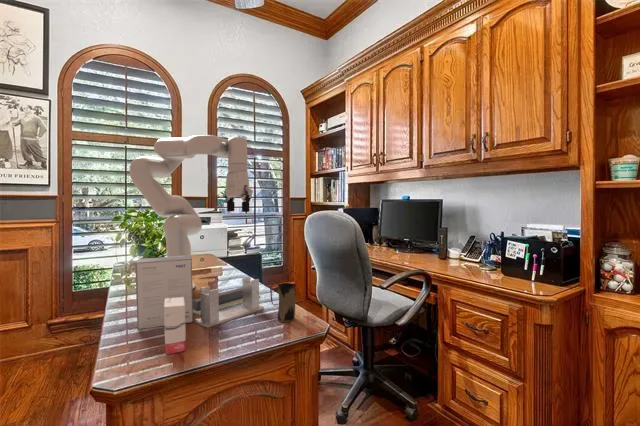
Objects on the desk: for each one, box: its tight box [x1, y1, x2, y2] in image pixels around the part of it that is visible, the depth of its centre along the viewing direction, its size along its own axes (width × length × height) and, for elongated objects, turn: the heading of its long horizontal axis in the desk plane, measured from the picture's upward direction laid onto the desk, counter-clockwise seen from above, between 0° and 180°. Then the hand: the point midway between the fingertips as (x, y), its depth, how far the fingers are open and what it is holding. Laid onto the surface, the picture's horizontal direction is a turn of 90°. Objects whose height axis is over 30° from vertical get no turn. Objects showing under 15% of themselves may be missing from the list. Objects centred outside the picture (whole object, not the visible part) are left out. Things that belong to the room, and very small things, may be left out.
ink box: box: [163, 297, 187, 355], centre depth 85 cm, size 9×5×12 cm, turn 24°
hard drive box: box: [134, 254, 194, 330], centre depth 101 cm, size 16×8×20 cm, turn 111°
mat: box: [193, 295, 261, 316], centre depth 120 cm, size 8×26×1 cm, turn 141°
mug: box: [269, 282, 296, 323], centre depth 103 cm, size 8×6×12 cm
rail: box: [193, 286, 243, 311], centre depth 120 cm, size 3×24×3 cm, turn 141°
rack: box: [194, 276, 265, 329], centre depth 107 cm, size 7×22×11 cm, turn 141°
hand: (238, 211), depth 131 cm, fingers open, 9 cm apart
